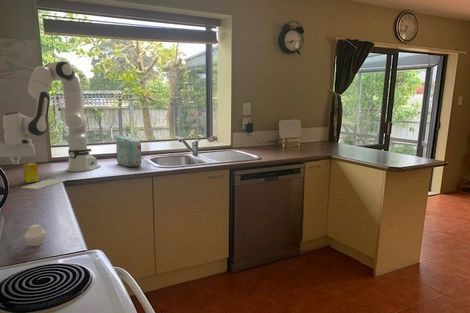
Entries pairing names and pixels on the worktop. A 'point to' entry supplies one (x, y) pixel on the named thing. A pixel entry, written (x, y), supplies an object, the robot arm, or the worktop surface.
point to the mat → (43, 184)
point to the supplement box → (30, 173)
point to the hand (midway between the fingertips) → (15, 164)
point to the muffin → (35, 235)
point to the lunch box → (128, 151)
